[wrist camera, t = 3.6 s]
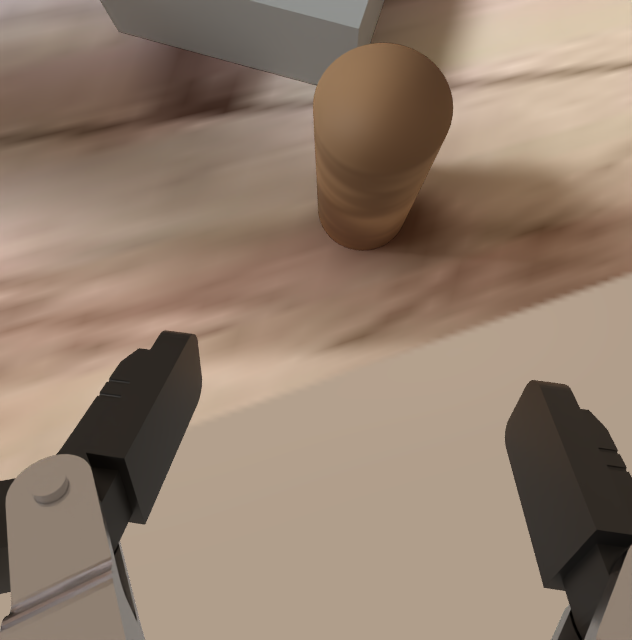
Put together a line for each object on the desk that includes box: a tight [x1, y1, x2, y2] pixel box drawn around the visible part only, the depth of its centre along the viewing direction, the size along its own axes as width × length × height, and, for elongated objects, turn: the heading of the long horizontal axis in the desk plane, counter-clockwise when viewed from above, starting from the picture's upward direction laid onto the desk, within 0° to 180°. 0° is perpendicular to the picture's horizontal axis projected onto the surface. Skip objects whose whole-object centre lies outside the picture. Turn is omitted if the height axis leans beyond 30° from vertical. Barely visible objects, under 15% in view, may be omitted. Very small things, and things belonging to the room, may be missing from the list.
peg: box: [313, 43, 453, 250], centre depth 21 cm, size 5×5×10 cm
